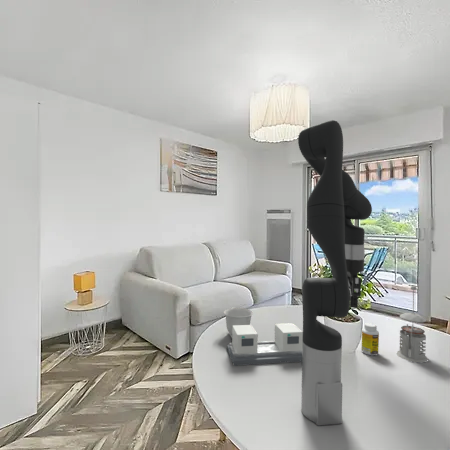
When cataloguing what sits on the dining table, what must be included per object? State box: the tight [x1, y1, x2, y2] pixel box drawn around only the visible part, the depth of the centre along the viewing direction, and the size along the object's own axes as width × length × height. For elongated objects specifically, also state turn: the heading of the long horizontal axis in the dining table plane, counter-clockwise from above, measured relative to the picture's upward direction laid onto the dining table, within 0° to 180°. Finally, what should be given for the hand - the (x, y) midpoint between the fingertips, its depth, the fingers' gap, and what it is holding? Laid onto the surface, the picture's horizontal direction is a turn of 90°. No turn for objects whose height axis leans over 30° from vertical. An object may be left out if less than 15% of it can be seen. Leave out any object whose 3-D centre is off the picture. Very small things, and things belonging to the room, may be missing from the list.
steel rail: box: [228, 340, 302, 358], centre depth 106 cm, size 25×9×1 cm, turn 99°
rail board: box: [226, 344, 302, 366], centre depth 106 cm, size 26×13×2 cm, turn 99°
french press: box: [396, 285, 429, 363], centre depth 105 cm, size 10×12×25 cm
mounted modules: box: [231, 322, 303, 354], centre depth 106 cm, size 23×9×7 cm, turn 99°
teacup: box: [223, 306, 254, 338], centre depth 124 cm, size 12×15×10 cm
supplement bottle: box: [361, 322, 380, 356], centre depth 109 cm, size 6×6×10 cm
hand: (350, 303), depth 104 cm, fingers open, 8 cm apart
